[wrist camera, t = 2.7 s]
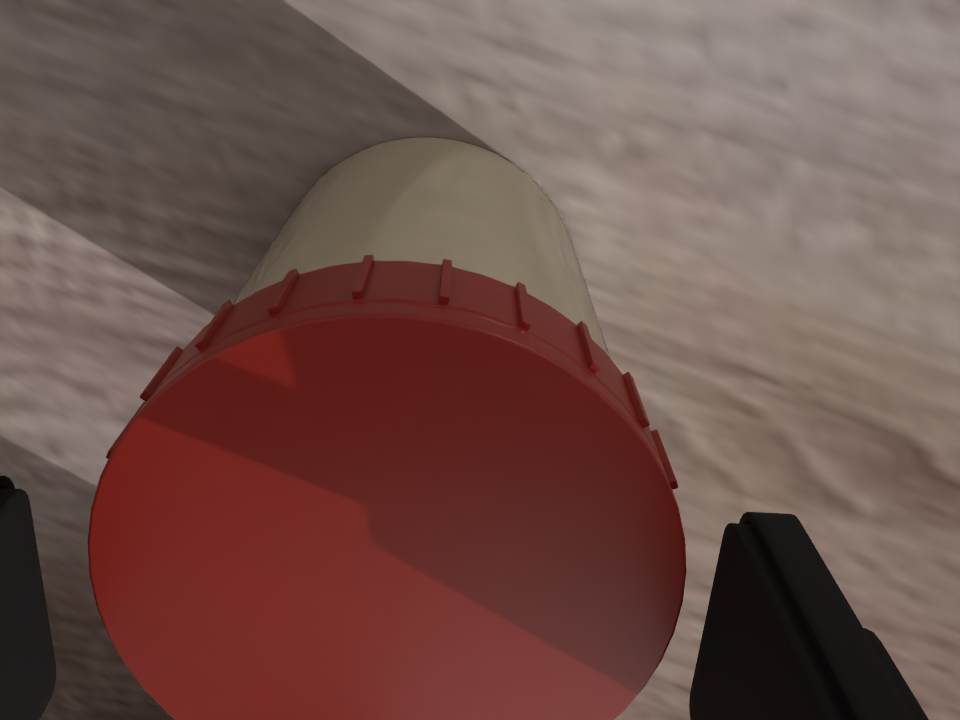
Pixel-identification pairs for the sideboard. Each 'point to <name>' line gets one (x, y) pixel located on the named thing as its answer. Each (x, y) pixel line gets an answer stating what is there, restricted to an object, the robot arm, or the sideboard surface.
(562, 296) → the jam jar
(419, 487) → the jam lid
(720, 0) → the sideboard surface
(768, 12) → the sideboard surface
